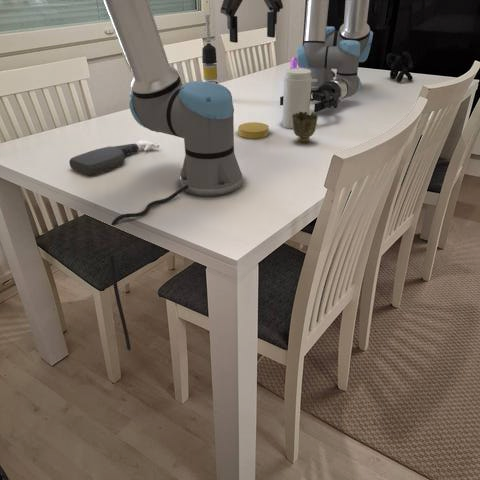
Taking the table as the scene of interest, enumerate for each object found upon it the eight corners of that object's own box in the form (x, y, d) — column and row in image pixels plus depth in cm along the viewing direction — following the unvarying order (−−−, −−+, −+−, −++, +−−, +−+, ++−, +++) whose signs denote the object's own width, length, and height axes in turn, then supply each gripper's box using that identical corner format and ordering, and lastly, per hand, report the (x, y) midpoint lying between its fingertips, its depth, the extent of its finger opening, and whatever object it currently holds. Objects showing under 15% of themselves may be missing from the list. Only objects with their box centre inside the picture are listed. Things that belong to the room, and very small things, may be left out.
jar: (287, 130, 144) (289, 74, 135) (278, 122, 151) (280, 69, 142) (312, 127, 146) (316, 72, 137) (302, 120, 153) (305, 67, 144)
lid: (273, 130, 144) (273, 124, 143) (261, 140, 136) (261, 133, 135) (245, 127, 147) (245, 120, 146) (233, 136, 140) (233, 129, 139)
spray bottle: (67, 168, 120) (139, 144, 136) (91, 178, 114) (163, 151, 130) (65, 157, 118) (137, 134, 134) (89, 167, 112) (162, 142, 128)
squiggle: (400, 92, 202) (376, 71, 205) (417, 76, 202) (392, 56, 205) (405, 81, 191) (380, 59, 194) (423, 64, 191) (397, 42, 194)
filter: (220, 99, 177) (217, 15, 161) (206, 100, 176) (202, 16, 160) (215, 96, 182) (212, 14, 166) (202, 97, 180) (197, 14, 164)
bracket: (300, 74, 213) (301, 59, 210) (290, 73, 216) (290, 57, 213) (313, 69, 222) (314, 54, 218) (303, 68, 225) (304, 53, 221)
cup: (287, 143, 133) (288, 116, 129) (296, 135, 139) (297, 110, 135) (310, 147, 130) (312, 119, 126) (319, 139, 136) (321, 113, 132)
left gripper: (221, -50, 107) (225, 45, 118) (297, -50, 120) (294, 36, 131) (204, -49, 112) (209, 42, 123) (279, -49, 125) (277, 33, 136)
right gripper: (362, 108, 154) (329, 123, 141) (302, 97, 168) (267, 109, 155) (365, 86, 150) (331, 99, 137) (303, 76, 164) (267, 87, 151)
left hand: (252, 39), depth 127 cm, fingers open, 13 cm apart
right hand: (297, 104), depth 146 cm, fingers open, 13 cm apart
